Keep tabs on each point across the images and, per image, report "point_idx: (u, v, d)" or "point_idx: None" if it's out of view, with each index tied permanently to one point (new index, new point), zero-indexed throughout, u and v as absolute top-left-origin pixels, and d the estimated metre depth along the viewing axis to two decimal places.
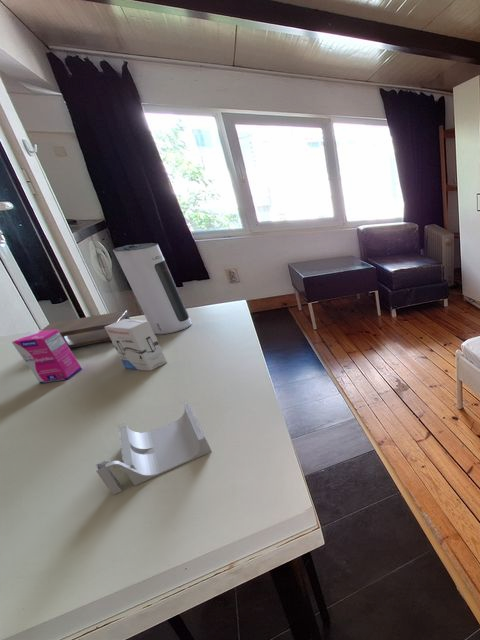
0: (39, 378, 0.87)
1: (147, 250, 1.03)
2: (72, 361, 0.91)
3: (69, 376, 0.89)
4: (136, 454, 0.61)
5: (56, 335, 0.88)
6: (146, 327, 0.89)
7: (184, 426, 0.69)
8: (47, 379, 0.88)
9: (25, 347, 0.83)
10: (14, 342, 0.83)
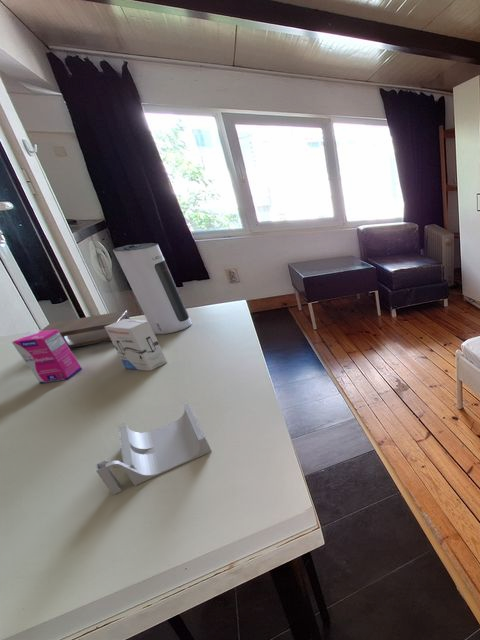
0: (39, 378, 0.87)
1: (147, 250, 1.03)
2: (72, 361, 0.91)
3: (69, 376, 0.89)
4: (136, 454, 0.61)
5: (56, 335, 0.88)
6: (146, 327, 0.89)
7: (184, 426, 0.69)
8: (47, 379, 0.88)
9: (25, 347, 0.83)
10: (14, 342, 0.83)
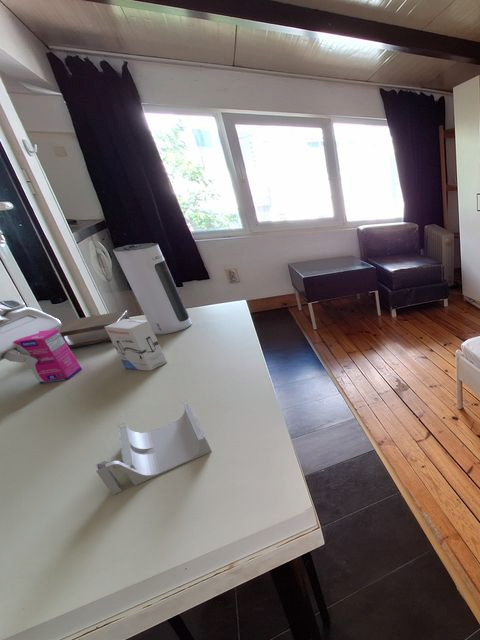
0: (39, 378, 0.87)
1: (147, 250, 1.03)
2: (72, 361, 0.91)
3: (69, 376, 0.89)
4: (136, 454, 0.61)
5: (56, 335, 0.88)
6: (146, 327, 0.89)
7: (184, 426, 0.69)
8: (47, 379, 0.88)
9: (25, 347, 0.83)
10: (14, 342, 0.83)
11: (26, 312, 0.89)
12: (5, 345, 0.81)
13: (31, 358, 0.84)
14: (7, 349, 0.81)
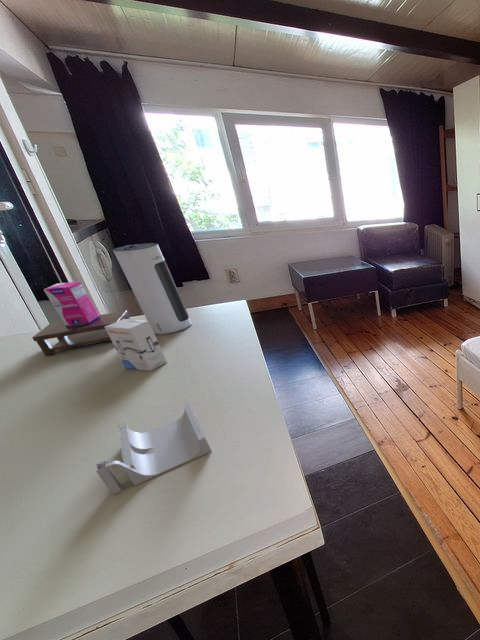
0: (65, 322, 1.03)
1: (147, 250, 1.03)
2: (92, 310, 1.07)
3: (90, 321, 1.06)
4: (136, 454, 0.61)
5: (79, 286, 1.04)
6: (146, 327, 0.89)
7: (184, 426, 0.69)
8: (72, 323, 1.04)
9: (54, 294, 1.00)
10: (45, 289, 0.99)
11: None
12: None
13: None
14: None
